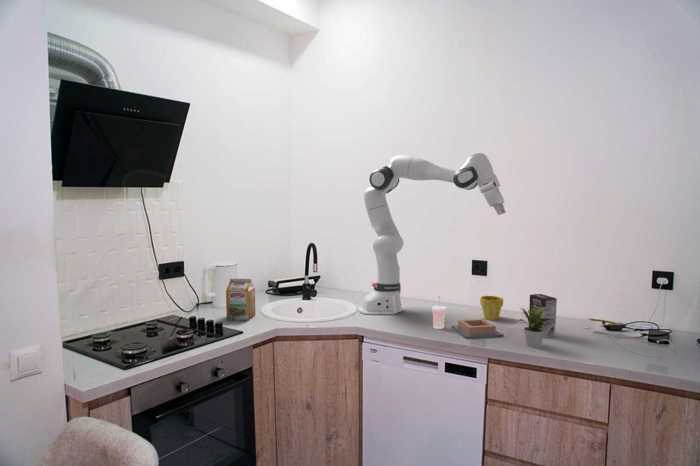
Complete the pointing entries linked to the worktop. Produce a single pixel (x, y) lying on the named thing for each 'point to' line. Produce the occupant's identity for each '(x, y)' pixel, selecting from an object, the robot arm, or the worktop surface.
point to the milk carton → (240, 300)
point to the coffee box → (545, 311)
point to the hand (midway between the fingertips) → (502, 214)
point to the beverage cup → (438, 316)
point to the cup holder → (476, 329)
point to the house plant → (534, 327)
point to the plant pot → (491, 306)
